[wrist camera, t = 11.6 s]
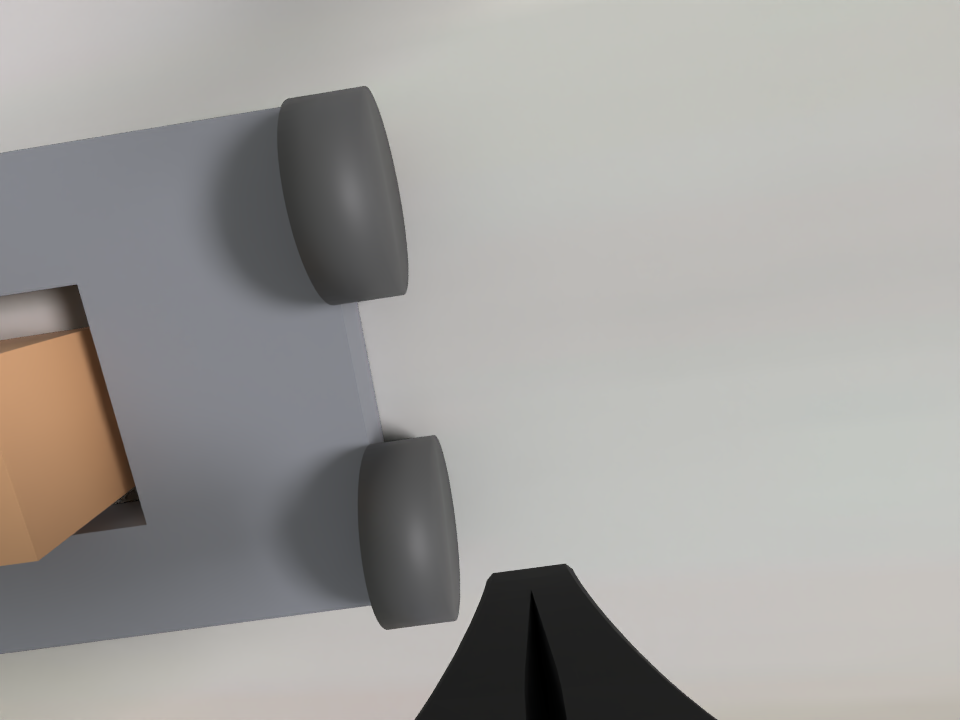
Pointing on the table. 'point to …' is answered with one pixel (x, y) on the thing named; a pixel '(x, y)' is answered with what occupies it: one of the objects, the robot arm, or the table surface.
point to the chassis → (231, 376)
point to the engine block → (55, 443)
